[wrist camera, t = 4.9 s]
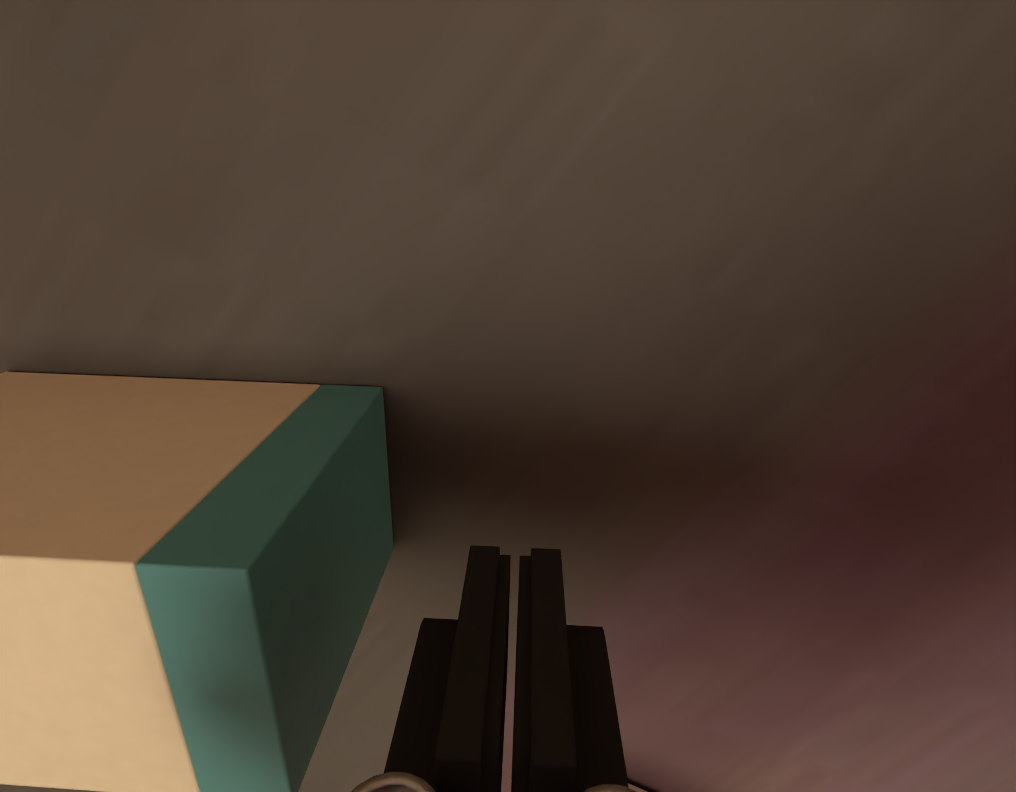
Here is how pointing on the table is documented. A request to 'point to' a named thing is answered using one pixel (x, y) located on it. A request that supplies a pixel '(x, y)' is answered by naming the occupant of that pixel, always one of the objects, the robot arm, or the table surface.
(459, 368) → the table surface
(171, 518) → the carton
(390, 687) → the table surface
